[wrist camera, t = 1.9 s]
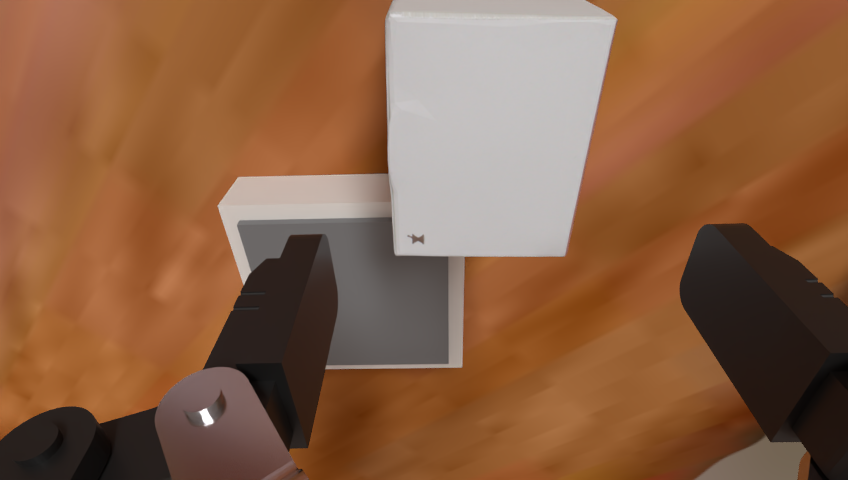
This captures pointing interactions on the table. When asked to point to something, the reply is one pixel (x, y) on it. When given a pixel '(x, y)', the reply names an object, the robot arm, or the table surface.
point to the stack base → (355, 267)
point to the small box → (491, 122)
